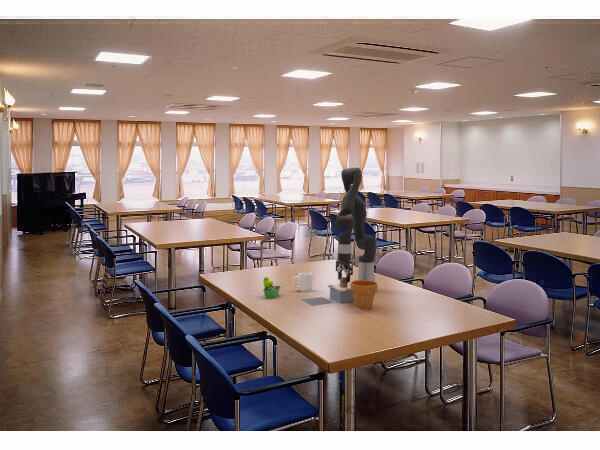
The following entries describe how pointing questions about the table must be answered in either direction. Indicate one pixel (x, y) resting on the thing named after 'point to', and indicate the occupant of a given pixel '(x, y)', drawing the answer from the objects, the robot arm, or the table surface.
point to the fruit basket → (270, 288)
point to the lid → (341, 285)
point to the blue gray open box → (341, 296)
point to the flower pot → (363, 293)
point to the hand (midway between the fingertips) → (343, 280)
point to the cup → (304, 282)
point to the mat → (317, 301)
